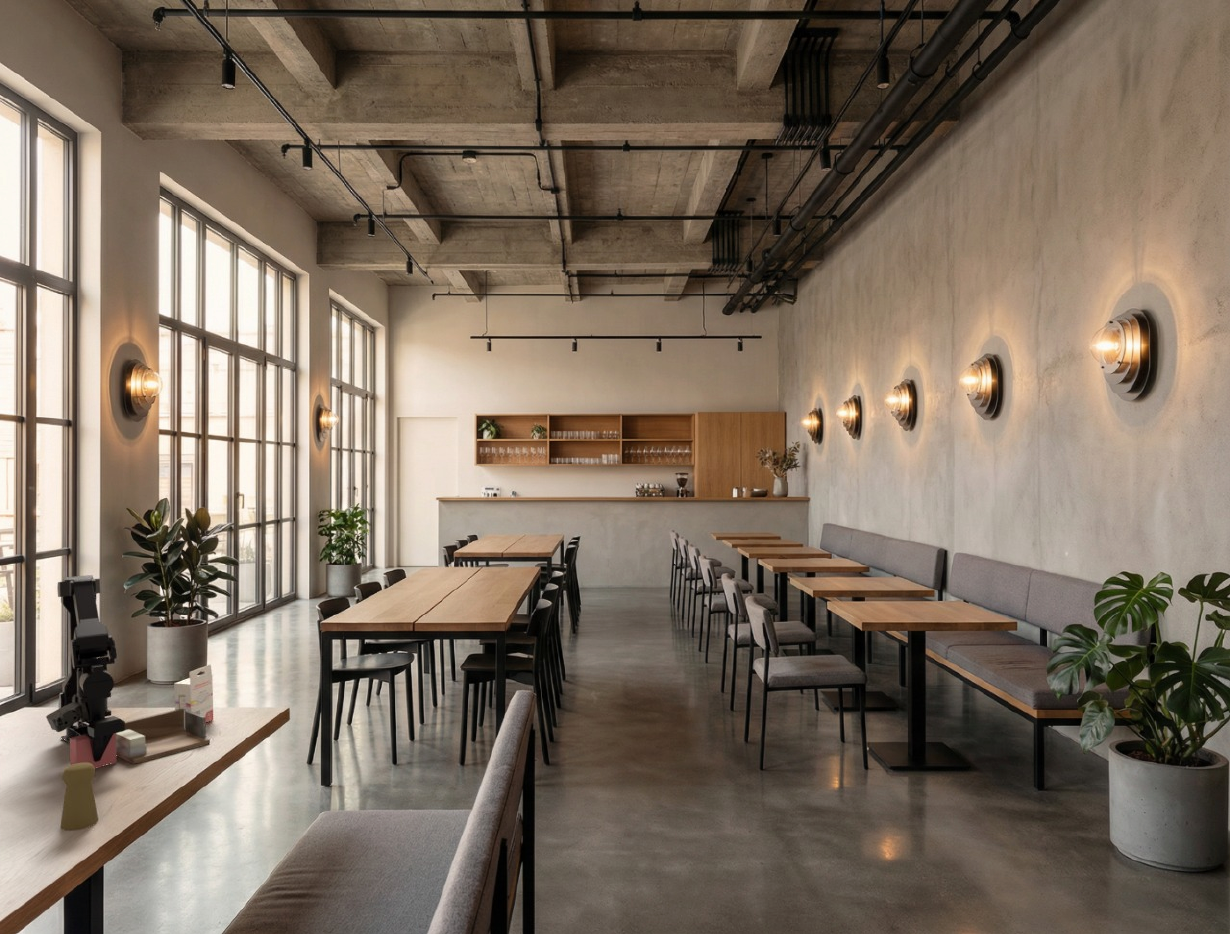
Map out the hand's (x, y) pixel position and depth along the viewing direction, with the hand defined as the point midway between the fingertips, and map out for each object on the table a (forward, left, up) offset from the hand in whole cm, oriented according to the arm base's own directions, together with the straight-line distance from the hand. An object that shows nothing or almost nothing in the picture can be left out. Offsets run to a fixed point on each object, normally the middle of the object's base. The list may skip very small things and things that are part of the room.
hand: (93, 759), depth 189 cm
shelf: (-1, +15, -2) cm, 15 cm away
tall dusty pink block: (0, 0, -2) cm, 2 cm away
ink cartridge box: (-12, +28, -2) cm, 31 cm away
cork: (+31, -14, -2) cm, 34 cm away
